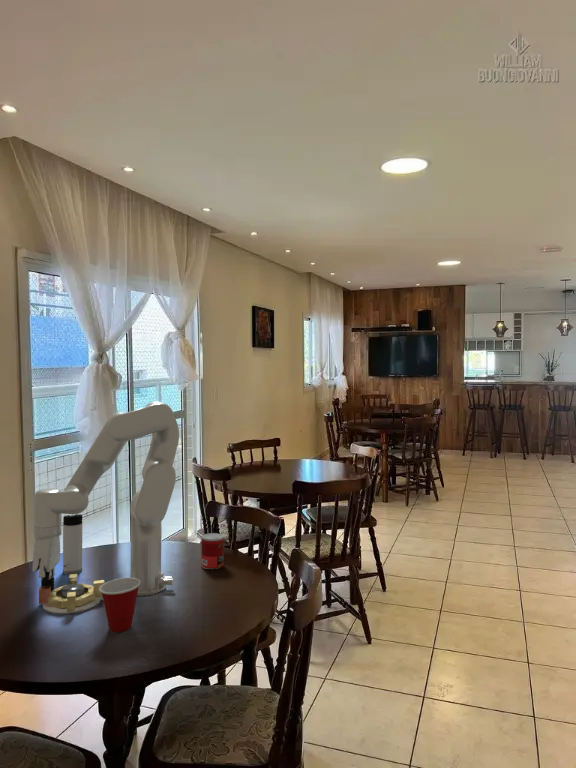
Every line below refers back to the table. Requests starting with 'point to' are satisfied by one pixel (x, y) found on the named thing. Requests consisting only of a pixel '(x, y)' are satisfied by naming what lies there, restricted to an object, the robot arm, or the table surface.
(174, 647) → the table surface
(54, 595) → the locking ring
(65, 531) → the travel mug
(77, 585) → the flange
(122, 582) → the plastic cup
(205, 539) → the canned food
